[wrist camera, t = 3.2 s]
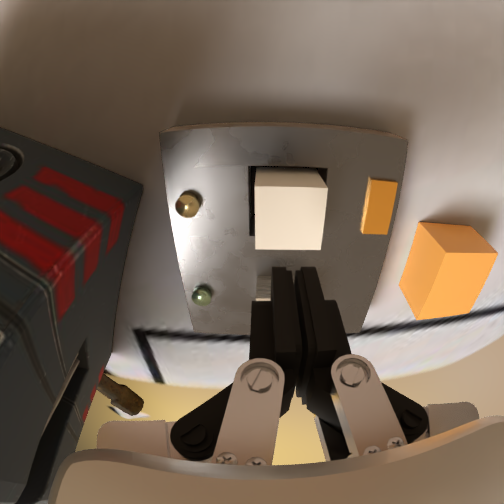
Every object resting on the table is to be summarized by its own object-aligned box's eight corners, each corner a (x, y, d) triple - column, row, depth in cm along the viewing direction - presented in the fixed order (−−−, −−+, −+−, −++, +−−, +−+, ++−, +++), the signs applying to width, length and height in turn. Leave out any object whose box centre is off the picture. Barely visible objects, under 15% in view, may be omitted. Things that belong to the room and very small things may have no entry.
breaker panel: (389, 132, 17) (427, 148, 12) (353, 311, 27) (365, 352, 22) (173, 126, 18) (143, 139, 13) (199, 310, 27) (189, 352, 23)
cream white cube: (315, 168, 18) (327, 188, 14) (311, 220, 20) (320, 250, 16) (256, 167, 18) (254, 186, 14) (257, 220, 20) (255, 249, 17)
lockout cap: (470, 226, 20) (498, 253, 16) (448, 282, 24) (468, 312, 20) (418, 221, 21) (446, 252, 17) (398, 285, 25) (416, 320, 20)
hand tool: (59, 341, 35) (48, 362, 31) (67, 337, 34) (55, 359, 30) (136, 399, 44) (130, 419, 40) (148, 398, 42) (142, 419, 38)
